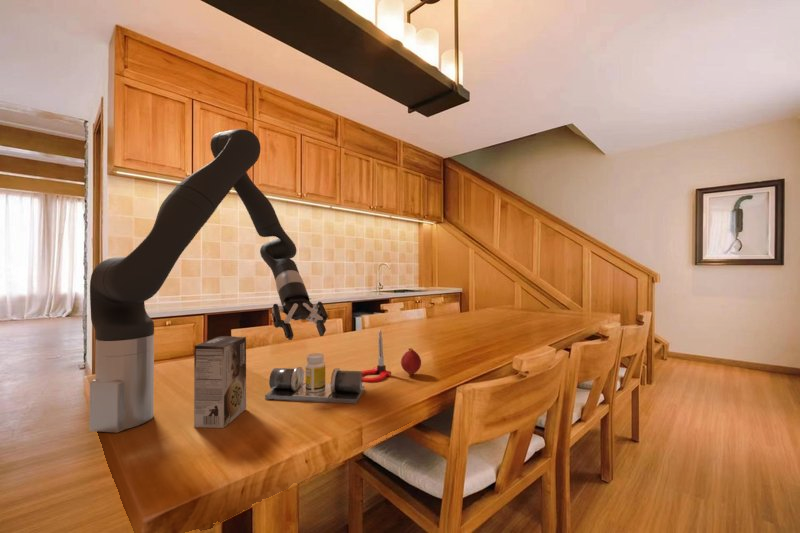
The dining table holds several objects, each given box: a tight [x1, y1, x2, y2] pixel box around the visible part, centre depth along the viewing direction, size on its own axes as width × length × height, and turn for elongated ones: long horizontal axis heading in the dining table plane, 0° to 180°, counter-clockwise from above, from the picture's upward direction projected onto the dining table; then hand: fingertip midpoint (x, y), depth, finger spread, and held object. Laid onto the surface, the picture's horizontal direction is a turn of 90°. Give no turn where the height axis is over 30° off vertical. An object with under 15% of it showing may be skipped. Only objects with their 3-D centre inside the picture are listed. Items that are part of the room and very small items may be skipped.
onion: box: [400, 347, 422, 376], centre depth 99 cm, size 6×6×8 cm
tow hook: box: [362, 330, 392, 383], centre depth 97 cm, size 8×13×9 cm
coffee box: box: [193, 335, 247, 429], centre depth 71 cm, size 9×6×16 cm
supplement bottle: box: [304, 353, 326, 392], centre depth 84 cm, size 5×5×8 cm
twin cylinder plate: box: [264, 366, 365, 405], centre depth 84 cm, size 22×9×6 cm, turn 84°
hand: (307, 336), depth 88 cm, fingers open, 8 cm apart
